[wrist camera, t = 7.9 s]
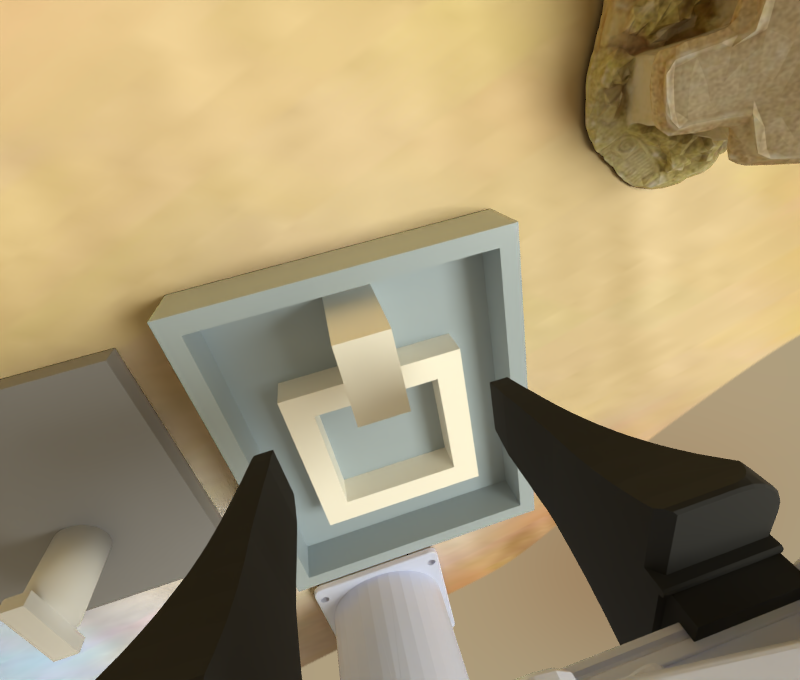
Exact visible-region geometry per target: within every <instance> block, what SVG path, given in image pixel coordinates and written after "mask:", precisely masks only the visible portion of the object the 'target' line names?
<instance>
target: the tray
mask: <svg viewBox="0 0 800 680" xmlns="http://www.w3.org/2000/svg"><path fill="white" fill-rule="evenodd" d="M367 284H370V285H371V287H372V289H373V291H374V293H375V295H376V298H377V300H378V302H379V304H380V306H381V308H382V310H383V312H384V314H385V316H386V318H387V320H388V322H389V325H390V327H391V329H392V333H393V337H394V341H395V345H396V349H397V348H400V347H404V346H407V345H411V344H414V343H417V342H421V341H424V340H428V339H431V338H434V337H438V336H441V335H444V334H448V333H449V334H450V336H451V337H452V338H453V340H454V341H455V343H456V344H457V345H458V347H459V348H460V352H461V359H462V366H463V373H464V379H465V386H466V393H467V400H468V407H469V413H470V420H471V427H472V434H473V441H474V447H475V454H476V461H477V468H478V475H479V476H477V477H474V478H471V479H468V480H465V481H462V482H459V483H456V484H453V485H450V486H447V487H444V488H441V489H438V490H435V491H432V492H429V493H426V494H423V495H420V496H417V497H414V498H411V499H408V500H405V501H402V502H399V503H396V504H393V505H390V506H387V507H384V508H381V509H378V510H375V511H372V512H369V513H366V514H363V515H360V516H357V517H354V518H351V519H348V520H345V521H342V522H339V523H336V524H333V525H330V523H329V521H328V519H327V516H326V514H325V512H324V509H323V507H322V505H321V503H320V500H319V498H318V496H317V493H316V491H315V489H314V486H313V484H312V482H311V480H310V477H309V475H308V473H307V470H306V468H305V466H304V464H303V461H302V459H301V457H300V454H299V452H298V450H297V448H296V445H295V443H294V441H293V438H292V436H291V434H290V431H289V429H288V427H287V425H286V422H285V420H284V418H283V415H282V413H281V411H280V409H279V406H278V404H277V396H278V383H281V382H285V381H288V380H292V379H295V378H298V377H302V376H305V375H309V374H312V373H315V372H319V371H322V370H326V369H329V368H332V367H336V366H338V365H337V362H336V359H335V356H334V353H333V350H332V346H331V341H330V336H329V331H328V326H327V320H326V315H325V310H324V305H323V299H322V297H324V296H327V295H331V294H335V293H338V292H342V291H346V290H349V289H353V288H356V287H360V286H364V285H367ZM147 323H148V325H149V327H150V329H151V330H152V332H153V334H154V336H155V337H156V339H157V341H158V343H159V345H160V346H161V348H162V350H163V352H164V353H165V355H166V357H167V359H168V361H169V362H170V364H171V366H172V368H173V369H174V371H175V373H176V375H177V376H178V378H179V380H180V382H181V384H182V385H183V387H184V389H185V391H186V392H187V394H188V396H189V398H190V399H191V401H192V403H193V405H194V407H195V408H196V410H197V412H198V414H199V415H200V417H201V419H202V421H203V423H204V424H205V426H206V428H207V430H208V431H209V433H210V435H211V437H212V438H213V440H214V442H215V444H216V446H217V447H218V449H219V451H220V453H221V454H222V456H223V458H224V460H225V461H226V463H227V465H228V467H229V469H230V470H231V472H232V474H233V476H234V477H235V479H236V481H237V483H238V485H240V483H241V481H242V478H243V476H244V474H245V472H246V470H247V468H248V466H249V464H250V462H251V460H252V458H253V456H255V455H258V454H261V453H264V452H267V451H271V450H273V451H274V453H275V455H276V457H277V459H278V461H279V463H280V465H281V467H282V470H283V472H284V474H285V476H286V478H287V480H288V482H289V484H290V486H291V489H292V491H293V493H294V498H295V506H296V516H297V572H296V587H297V589H298V591H302V590H305V589H308V588H311V587H314V586H317V585H320V584H322V583H325V582H328V581H331V580H334V579H337V578H340V577H343V576H345V575H348V574H351V573H354V572H357V571H360V570H363V569H366V568H368V567H371V566H374V565H377V564H380V563H383V562H386V561H389V560H392V559H394V558H397V557H400V556H403V555H406V554H409V553H412V552H415V551H417V550H420V549H423V548H426V547H429V546H432V545H435V544H438V543H441V542H443V541H446V540H449V539H452V538H455V537H458V536H461V535H464V534H466V533H469V532H472V531H475V530H478V529H481V528H484V527H487V526H490V525H492V524H495V523H498V522H501V521H504V520H507V519H510V518H513V517H515V516H518V515H521V514H524V513H527V512H530V511H533V510H534V495H533V489H532V488H531V486H530V485H529V483H528V482H527V481H526V479H525V478H524V476H523V475H522V473H521V472H520V471H519V469H518V468H517V466H516V465H515V463H514V462H513V461H512V459H511V458H510V456H509V455H508V453H507V451H506V449H505V447H504V446H503V444H502V442H501V440H500V438H499V436H498V434H497V432H496V430H495V425H494V416H493V407H492V399H491V390H490V382H492V381H496V380H499V379H502V378H505V377H508V378H510V379H511V380H513V381H515V382H517V383H518V384H520V385H522V386H523V387H525V388H527V389H528V387H527V370H526V352H525V334H524V316H523V298H522V280H521V262H520V245H519V227H518V222H517V221H515V220H513V219H511V218H509V217H507V216H505V215H503V214H501V213H499V212H497V211H495V210H492V209H488V210H484V211H480V212H476V213H473V214H469V215H465V216H461V217H458V218H454V219H450V220H446V221H443V222H439V223H435V224H431V225H428V226H424V227H420V228H416V229H412V230H409V231H405V232H401V233H397V234H394V235H390V236H386V237H382V238H379V239H375V240H371V241H367V242H364V243H360V244H356V245H352V246H349V247H345V248H341V249H337V250H333V251H330V252H326V253H322V254H318V255H315V256H311V257H307V258H303V259H300V260H296V261H292V262H288V263H285V264H281V265H277V266H273V267H269V268H266V269H262V270H258V271H254V272H251V273H247V274H243V275H239V276H236V277H232V278H228V279H224V280H221V281H217V282H213V283H209V284H206V285H202V286H198V287H194V288H190V289H187V290H183V291H179V292H175V293H172V294H168V295H165V296H164V297H163V299H162V300H161V302H160V304H159V305H158V307H157V308H156V310H155V311H154V313H153V314H152V316H151V317H150V319H149V320H148V322H147ZM406 392H407V396H408V400H409V405H410V409H411V411H410V412H407V413H404V414H400V415H397V416H394V417H391V418H388V419H384V420H381V421H378V422H375V423H372V424H368V425H365V426H362V427H359V428H358V426H357V423H356V420H355V417H354V414H353V411H352V408H351V406H348V407H344V408H341V409H338V410H335V411H331V412H328V413H325V414H322V415H320V418H321V421H322V423H323V426H324V429H325V431H326V434H327V437H328V439H329V442H330V444H331V447H332V450H333V452H334V455H335V458H336V460H337V463H338V466H339V468H340V471H341V473H342V476H343V479H344V480H345V479H348V478H351V477H354V476H357V475H360V474H364V473H367V472H370V471H373V470H376V469H379V468H382V467H385V466H388V465H391V464H394V463H398V462H401V461H404V460H407V459H410V458H413V457H416V456H419V455H422V454H425V453H429V452H432V451H435V450H438V449H441V448H444V447H445V446H444V440H443V435H442V430H441V425H440V420H439V415H438V410H437V405H436V399H435V394H434V389H433V384H432V381H430V382H426V383H423V384H420V385H417V386H413V387H410V388H407V389H406Z"/></svg>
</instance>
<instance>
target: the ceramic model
mask: <svg viewBox="0 0 800 680" xmlns="http://www.w3.org/2000/svg"><path fill="white" fill-rule="evenodd" d="M585 116H586V129H587V131H588V135H589V139H590V140H591V141H592V143H593V146H594V149H595V150H596V152H599V153H600V154H601V156H602V155H604V160H605V161H606V162H608V163H609V165H611V166H612V167H614V169H615V171H616V173H617V175H619V176H620V177H621V178H623V180H624V181H626V182H627V183H629V184H630V185H632V186H633V187H639V188H642V187H643V188H645V189H657V188H665V187H668V186H672V185H675V184H678V183H681V182H682V181H683V180H685V179H686V178H688V177H691V176H694V175H697V174H700V173H702V172H704V171H705V170H707V169H708V168H710V167H711V166H712V165H713V163H714V162H715V161H716V160H717V158H718V156H719V154H722V153H724V152H725V151H726V150H727V152H728V158H729V160H731V161H733V162H735V163H737V164H741V165H775V164H796V163H800V0H604V3H603V12H602V16H601V19H600V26H599V29H598V31H597V35H596V40H595V45H594V51H593V53H592V56H591V59H590V64H589V68H588V72H587V78H586V106H585Z"/></svg>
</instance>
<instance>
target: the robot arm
mask: <svg viewBox="0 0 800 680" xmlns="http://www.w3.org/2000/svg"><path fill="white" fill-rule="evenodd" d="M490 390H491V399H492V407H493V416H494V425H495V430H496V432H497V434H498V436H499V438H500V440H501V442H502V444H503V446H504V447H505V449H506V451H507V453H508V455H509V456H510V458H511V459H512V461H513V462H514V463H515V465H516V466H517V468H518V469H519V471H520V472H521V473H522V475H523V476H524V478H525V479H526V481H527V482H528V483H529V485H530V486H531V488H532V489H533V490H534V492H535V493H536V495H537V496H538V497H539V499H540V500H541V502H542V503H543V505H544V506H545V507H546V509H547V510H548V512H549V513H550V515H551V516H552V518H553V520H554V521H555V523H556V525H557V526H558V528H559V530H560V532H561V533H562V535H563V537H564V539H565V540H566V542H567V544H568V546H569V547H570V549H571V551H572V553H573V555H574V557H575V558H576V560H577V562H578V564H579V566H580V568H581V569H582V571H583V573H584V575H585V577H586V578H587V581H588V582H589V584H590V586H591V588H592V590H593V592H594V594H595V596H596V598H597V600H598V602H599V604H600V605H601V607H602V609H603V611H604V613H605V615H606V617H607V619H608V621H609V623H610V625H611V628H612V629H613V632H614V634H615V635H616V638H617V639H618V642H619V643H620V646H617V647H615V648H612V649H610V650H607V651H605V652H602V653H600V654H597V655H594V656H592V657H589V658H587V659H584V660H582V661H579V662H577V663H574V664H572V665H569V666H566V667H564V668H561V669H555V668H550V669H546V670H542V671H538V672H534V673H530V674H528V675H525V676H523V677H520V678H517V679H515V680H800V559H798V560H797V561H796V562H795V563H794V564H792V563H790V561H788V560H787V559H786V558H785V557H784V556H783V555H782V554H781V552H782V551H783V547H782V545H781V544H780V543H779V542H778V541H777V540H775V539H774V538H773V537H772V536H771V535H770V531H771V529H772V526H773V523H774V520H775V518H776V515H777V513H778V509H779V504H780V498H779V494H778V491H777V490H776V489H775V488H774V487H773V486H772V485H771V484H770V483H768V482H767V481H766V480H764V479H763V478H762V477H761V476H759V475H758V474H757V473H755V472H754V471H753V470H751V469H750V468H749V467H747V466H746V465H744V464H743V463H741V462H740V461H736V460H730V459H723V458H718V457H712V456H705V455H700V454H695V453H691V452H686V451H682V450H677V449H673V448H669V447H665V446H661V445H658V444H654V443H650V442H647V441H644V440H641V439H637V438H634V437H631V436H628V435H625V434H622V433H619V432H616V431H614V430H611V429H608V428H606V427H603V426H601V425H598V424H596V423H593V422H591V421H589V420H586V419H584V418H582V417H580V416H578V415H576V414H573V413H571V412H569V411H567V410H565V409H563V408H561V407H559V406H557V405H555V404H554V403H552V402H550V401H548V400H546V399H544V398H543V397H541V396H539V395H537V394H535V393H534V392H532V391H530V390H529V389H527V388H525V387H523V386H522V385H520V384H518V383H517V382H515V381H513V380H511V379H510V378H508V377H505V378H502V379H499V380H496V381H492V382H490ZM296 572H297V516H296V506H295V498H294V493H293V491H292V489H291V486H290V484H289V482H288V480H287V478H286V476H285V474H284V472H283V470H282V467H281V465H280V463H279V461H278V459H277V457H276V455H275V453H274V451H273V450H271V451H267V452H264V453H261V454H258V455H255V456H253V458H252V460H251V462H250V464H249V466H248V468H247V470H246V472H245V474H244V476H243V478H242V481H241V483H240V485H239V487H238V489H237V491H236V493H235V495H234V497H233V499H232V501H231V503H230V504H229V506H228V508H227V510H226V512H225V514H224V516H223V518H222V520H221V521H220V523H219V525H218V526H217V528H216V530H215V532H214V533H213V535H212V537H211V539H210V540H209V542H208V544H207V545H206V547H205V548H204V550H203V552H202V553H201V555H200V556H199V558H198V559H197V561H196V562H195V564H194V565H193V567H192V568H191V570H190V571H189V572H188V574H187V575H186V577H185V578H184V579H183V581H182V582H181V583H180V585H179V586H178V587H177V588H176V590H175V591H174V592H173V593H172V595H171V596H170V597H169V599H168V600H167V601H166V602H165V604H164V605H163V606H162V608H161V609H160V610H159V611H158V613H157V614H156V615H155V616H154V617H153V618H152V620H151V621H150V622H149V623H148V624H147V625H146V627H145V628H144V629H143V630H142V631H141V632H140V633H139V634H138V636H137V637H136V638H135V639H134V640H133V641H132V642H131V643H130V644H129V646H128V647H127V648H126V649H125V650H124V651H123V652H122V653H121V654H120V655H119V656H118V657H117V658H116V659H115V660H114V661H113V662H112V663H111V664H110V665H109V666H108V667H107V668H106V669H105V670H104V671H103V672H102V673H101V674H100V675H99V676H98V677H97V678H96V679H95V680H302V675H301V664H300V654H299V642H298V629H297V616H296ZM314 594H315V599H316V601H317V602H318V604H319V606H320V608H321V610H322V612H323V614H324V615H325V617H326V619H327V621H328V623H329V625H330V627H331V628H332V630H333V632H334V634H335V636H336V640H337V651H338V661H339V671H340V680H469V678H468V674H467V671H466V668H465V665H464V662H463V659H462V656H461V653H460V650H459V646H458V643H457V641H456V637H455V634H454V631H453V628H452V627H453V626H454V625H455V624H454V619H453V615H452V611H451V607H450V603H449V599H448V595H447V591H446V587H445V583H444V579H443V575H442V571H441V567H440V563H439V559H438V555H437V552H436V550H435V549H434V548H426V549H424V550H421V551H418V552H415V553H412V554H409V555H406V556H403V557H401V558H398V559H395V560H392V561H389V562H386V563H383V564H380V565H378V566H375V567H372V568H369V569H366V570H363V571H360V572H357V573H355V574H352V575H349V576H346V577H343V578H340V579H337V580H334V581H331V582H329V583H326V584H323V585H320V586H318V587H317V588H316V589H315V591H314Z"/></svg>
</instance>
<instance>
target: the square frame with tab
mask: <svg viewBox="0 0 800 680" xmlns="http://www.w3.org/2000/svg"><path fill="white" fill-rule="evenodd" d="M322 299H323V305H324V310H325V315H326V320H327V326H328V331H329V336H330V341H331V346H332V350H333V353H334V356H335V359H336V362H337V365H338V366H336V367H332V368H329V369H326V370H322V371H319V372H315V373H312V374H309V375H305V376H302V377H298V378H295V379H292V380H288V381H285V382H281V383H278V396H277V404H278V406H279V409H280V411H281V413H282V415H283V418H284V420H285V422H286V425H287V427H288V429H289V431H290V434H291V436H292V438H293V441H294V443H295V445H296V448H297V450H298V452H299V454H300V457H301V459H302V461H303V464H304V466H305V468H306V470H307V473H308V475H309V477H310V480H311V482H312V484H313V486H314V489H315V491H316V493H317V496H318V498H319V500H320V503H321V505H322V507H323V509H324V512H325V514H326V516H327V519H328V521H329V523H330V525H333V524H336V523H339V522H342V521H345V520H348V519H351V518H354V517H357V516H360V515H363V514H366V513H369V512H372V511H375V510H378V509H381V508H384V507H387V506H390V505H393V504H396V503H399V502H402V501H405V500H408V499H411V498H414V497H417V496H420V495H423V494H426V493H429V492H432V491H435V490H438V489H441V488H444V487H447V486H450V485H453V484H456V483H459V482H462V481H465V480H468V479H471V478H474V477H477V476H479V475H478V468H477V461H476V454H475V447H474V441H473V434H472V427H471V420H470V413H469V407H468V400H467V393H466V386H465V379H464V373H463V366H462V359H461V352H460V348H459V347H458V345H457V344H456V343H455V341H454V340H453V338H452V337H451V336H450V334H449V333H448V334H444V335H441V336H438V337H434V338H431V339H428V340H424V341H421V342H417V343H414V344H411V345H407V346H404V347H400V348H397V349H396V345H395V341H394V337H393V333H392V329H391V327H390V325H389V322H388V320H387V318H386V316H385V314H384V312H383V310H382V308H381V306H380V304H379V302H378V300H377V298H376V295H375V293H374V291H373V289H372V287H371V285H370V284H367V285H364V286H360V287H356V288H353V289H349V290H346V291H342V292H338V293H335V294H331V295H327V296H324V297H322ZM430 381H432V384H433V389H434V394H435V399H436V405H437V410H438V415H439V420H440V425H441V430H442V435H443V440H444V446H445V447H444V448H441V449H438V450H435V451H432V452H429V453H425V454H422V455H419V456H416V457H413V458H410V459H407V460H404V461H401V462H398V463H394V464H391V465H388V466H385V467H382V468H379V469H376V470H373V471H370V472H367V473H364V474H360V475H357V476H354V477H351V478H348V479H345V480H344V479H343V476H342V473H341V471H340V468H339V466H338V463H337V460H336V458H335V455H334V452H333V450H332V447H331V444H330V442H329V439H328V437H327V434H326V431H325V429H324V426H323V423H322V421H321V418H320V415H322V414H325V413H328V412H331V411H335V410H338V409H341V408H344V407H348V406H351V408H352V411H353V414H354V417H355V420H356V423H357V426H358V428H359V427H362V426H365V425H368V424H372V423H375V422H378V421H381V420H384V419H388V418H391V417H394V416H397V415H400V414H404V413H407V412H410V411H411V409H410V405H409V400H408V396H407V392H406V389H407V388H410V387H413V386H417V385H420V384H423V383H426V382H430Z"/></svg>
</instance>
